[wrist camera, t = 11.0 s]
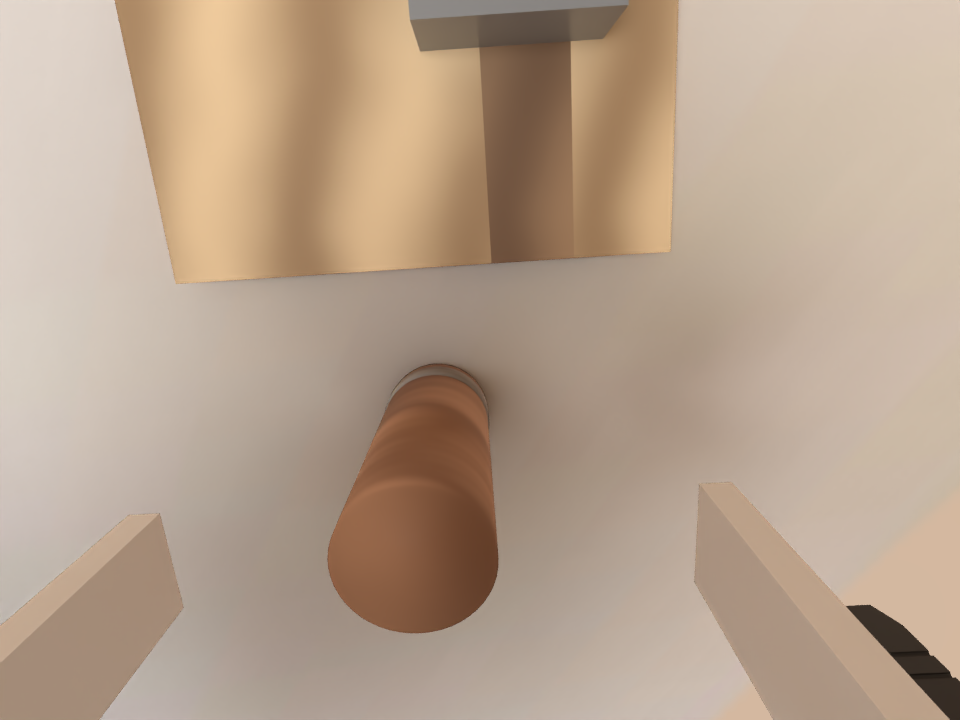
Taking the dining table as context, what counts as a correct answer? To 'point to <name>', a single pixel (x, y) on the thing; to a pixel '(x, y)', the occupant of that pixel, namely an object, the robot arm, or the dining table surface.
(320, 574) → the dining table surface
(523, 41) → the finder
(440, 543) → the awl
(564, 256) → the board
